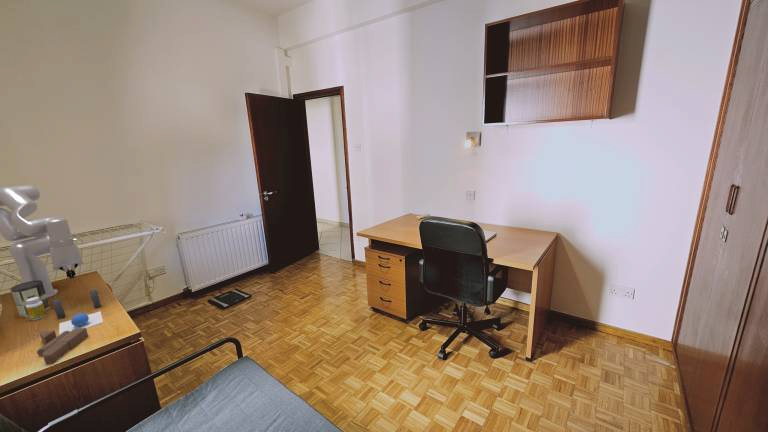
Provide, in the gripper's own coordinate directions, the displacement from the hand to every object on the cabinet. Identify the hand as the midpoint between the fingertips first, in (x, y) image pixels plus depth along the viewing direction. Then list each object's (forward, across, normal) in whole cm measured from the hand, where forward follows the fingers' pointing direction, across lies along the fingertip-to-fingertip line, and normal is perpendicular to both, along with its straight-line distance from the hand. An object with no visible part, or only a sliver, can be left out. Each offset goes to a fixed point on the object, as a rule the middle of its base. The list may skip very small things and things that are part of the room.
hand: (72, 277), depth 154 cm
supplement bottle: (+14, +14, +4) cm, 20 cm away
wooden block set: (+15, +10, +44) cm, 48 cm away
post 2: (+14, -6, +13) cm, 20 cm away
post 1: (+14, +6, +13) cm, 20 cm away
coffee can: (+14, +16, -6) cm, 22 cm away
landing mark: (+14, 0, +27) cm, 30 cm away
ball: (+11, 0, +29) cm, 31 cm away
